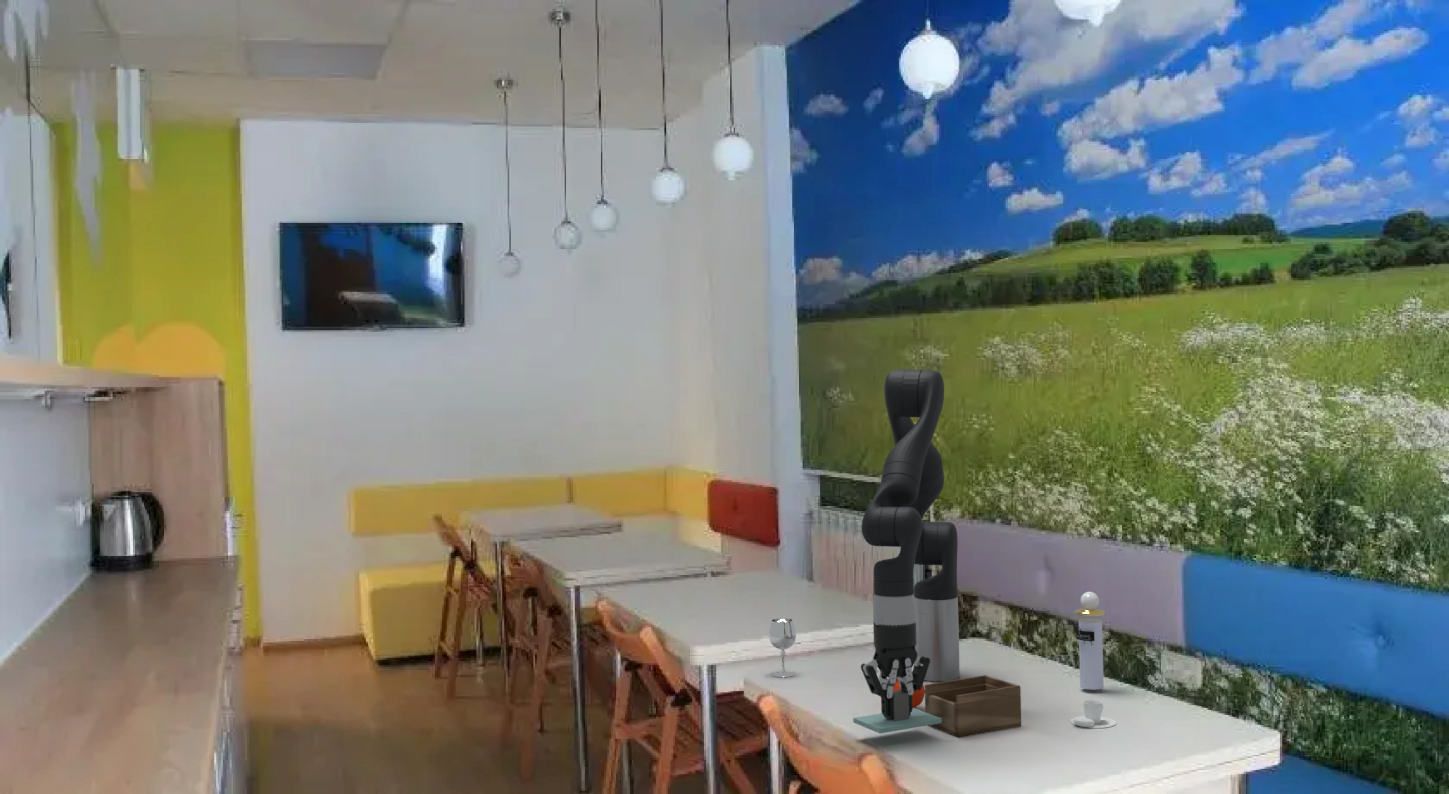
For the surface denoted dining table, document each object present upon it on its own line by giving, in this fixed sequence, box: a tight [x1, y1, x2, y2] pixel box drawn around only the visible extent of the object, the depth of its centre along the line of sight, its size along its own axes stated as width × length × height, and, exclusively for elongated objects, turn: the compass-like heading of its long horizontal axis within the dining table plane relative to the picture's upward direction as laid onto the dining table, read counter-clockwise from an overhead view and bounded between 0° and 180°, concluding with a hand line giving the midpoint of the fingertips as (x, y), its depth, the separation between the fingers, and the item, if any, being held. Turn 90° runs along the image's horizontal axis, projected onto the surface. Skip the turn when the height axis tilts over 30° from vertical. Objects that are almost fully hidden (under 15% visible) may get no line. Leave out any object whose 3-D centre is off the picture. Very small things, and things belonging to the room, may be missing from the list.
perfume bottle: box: [1074, 591, 1106, 691], centre depth 248 cm, size 6×6×20 cm
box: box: [924, 674, 1022, 739], centre depth 225 cm, size 10×14×7 cm
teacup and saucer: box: [1070, 699, 1117, 729], centre depth 225 cm, size 9×8×4 cm
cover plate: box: [852, 690, 942, 734], centre depth 217 cm, size 8×13×5 cm, turn 116°
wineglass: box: [768, 617, 797, 678], centre depth 269 cm, size 6×6×12 cm
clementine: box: [893, 678, 925, 709], centre depth 237 cm, size 8×7×7 cm
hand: (897, 716), depth 217 cm, fingers closed on cover plate, 3 cm apart
